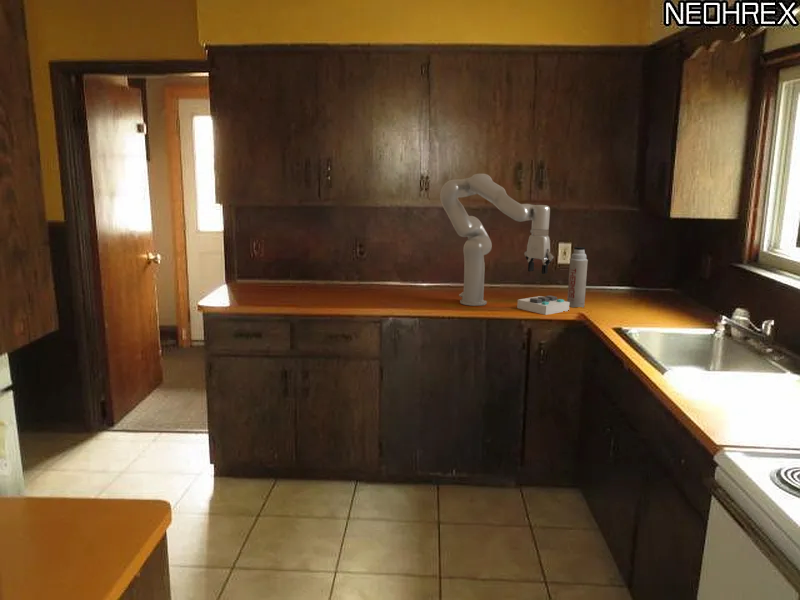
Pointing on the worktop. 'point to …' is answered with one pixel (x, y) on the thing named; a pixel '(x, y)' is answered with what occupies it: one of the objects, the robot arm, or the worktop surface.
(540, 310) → the switch unit
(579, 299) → the thermos bottle
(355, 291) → the worktop surface
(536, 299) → the button
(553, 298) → the button
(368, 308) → the worktop surface
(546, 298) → the button
